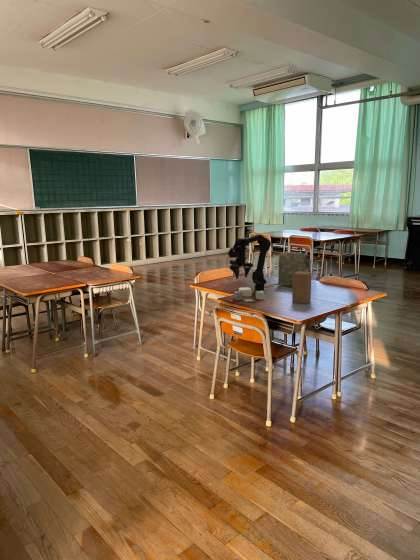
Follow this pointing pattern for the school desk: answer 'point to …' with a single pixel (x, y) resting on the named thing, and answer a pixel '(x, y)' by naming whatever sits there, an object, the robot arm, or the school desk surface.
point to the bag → (291, 266)
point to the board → (249, 300)
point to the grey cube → (238, 295)
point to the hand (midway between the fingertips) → (241, 278)
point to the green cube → (259, 295)
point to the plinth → (246, 291)
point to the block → (301, 287)
